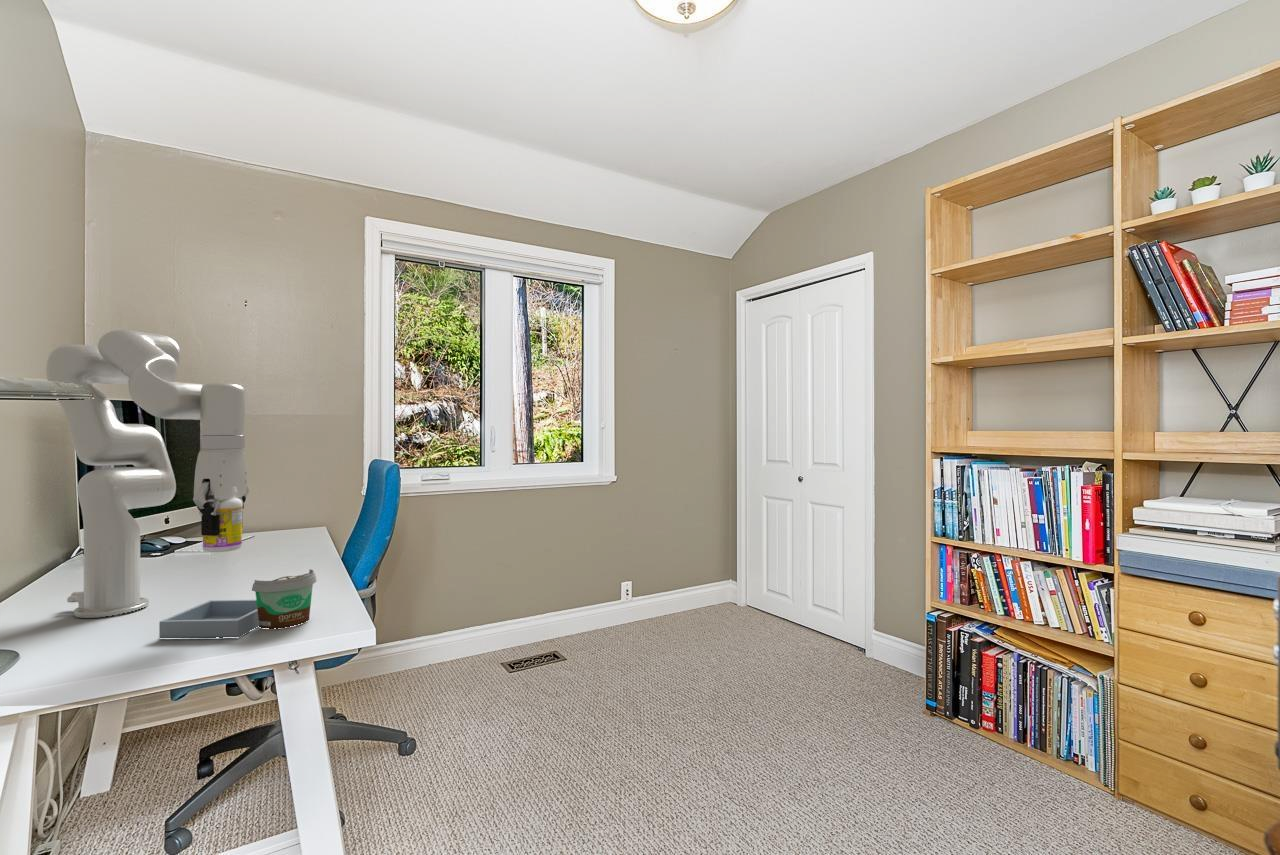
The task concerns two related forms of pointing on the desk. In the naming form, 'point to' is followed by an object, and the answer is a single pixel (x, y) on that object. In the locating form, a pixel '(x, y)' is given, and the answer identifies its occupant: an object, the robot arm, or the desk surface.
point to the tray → (212, 620)
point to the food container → (284, 600)
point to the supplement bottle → (227, 526)
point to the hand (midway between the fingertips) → (222, 531)
